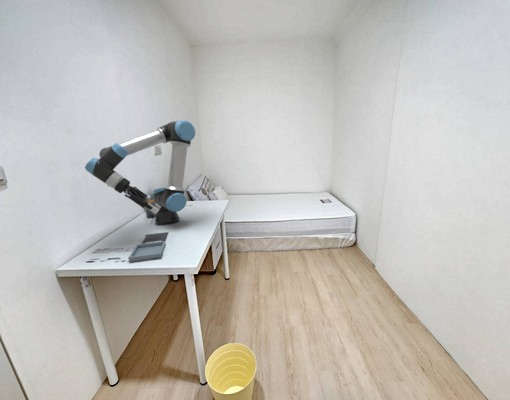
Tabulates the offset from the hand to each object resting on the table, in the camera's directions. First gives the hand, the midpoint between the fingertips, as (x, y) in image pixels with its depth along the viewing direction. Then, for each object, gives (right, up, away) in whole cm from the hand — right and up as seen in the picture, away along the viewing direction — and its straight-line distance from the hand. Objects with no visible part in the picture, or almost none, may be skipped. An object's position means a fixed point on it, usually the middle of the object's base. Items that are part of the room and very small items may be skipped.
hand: (158, 210), depth 124 cm
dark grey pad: (-3, -16, +4) cm, 17 cm away
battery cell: (-4, -4, 0) cm, 5 cm away
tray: (+1, -20, -12) cm, 24 cm away
